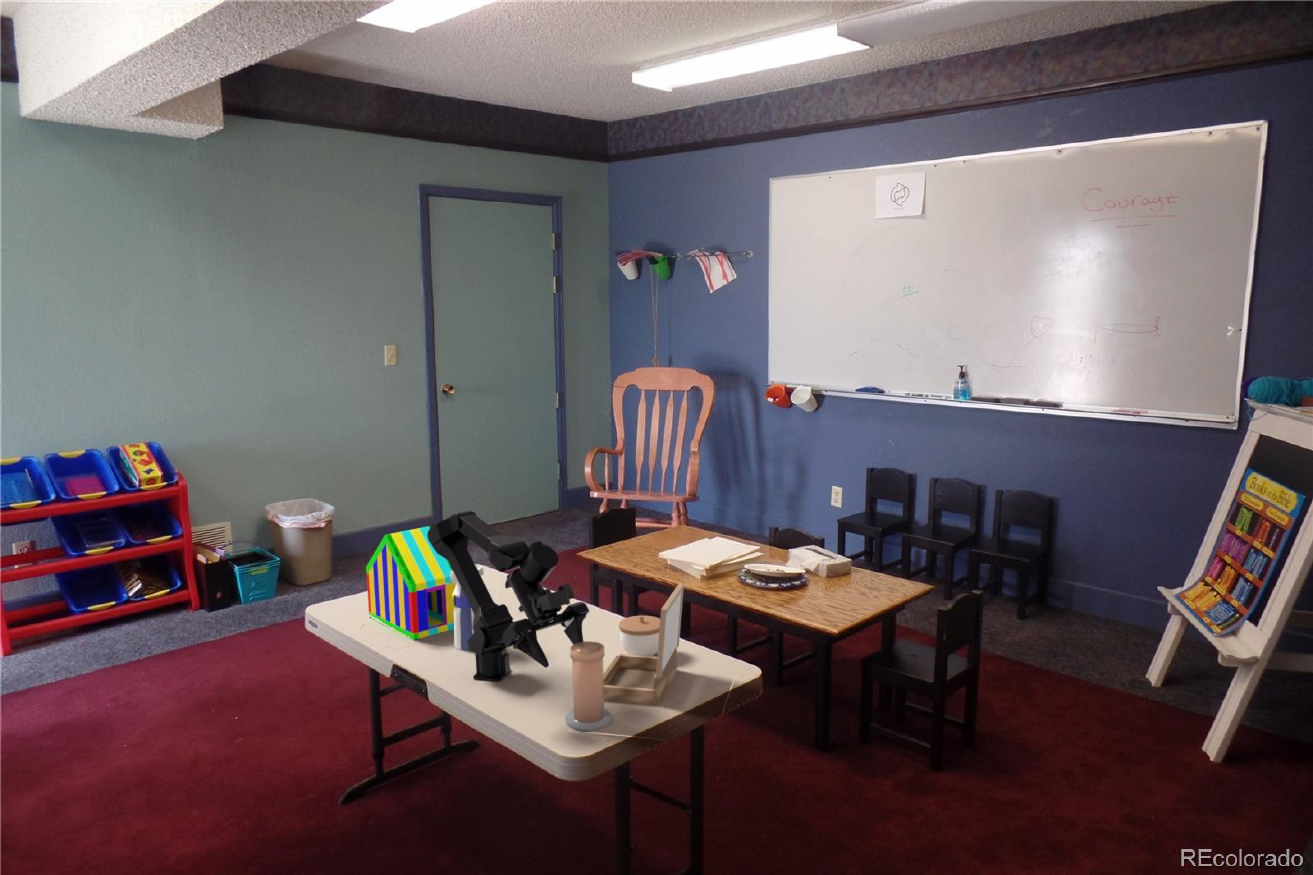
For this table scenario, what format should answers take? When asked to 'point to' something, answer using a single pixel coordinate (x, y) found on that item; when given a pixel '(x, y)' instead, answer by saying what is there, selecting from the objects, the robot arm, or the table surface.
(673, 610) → the lid
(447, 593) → the toy house
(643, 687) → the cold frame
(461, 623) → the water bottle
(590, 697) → the tan cylindrical canister
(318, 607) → the table surface
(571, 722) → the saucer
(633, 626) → the lidded jar
